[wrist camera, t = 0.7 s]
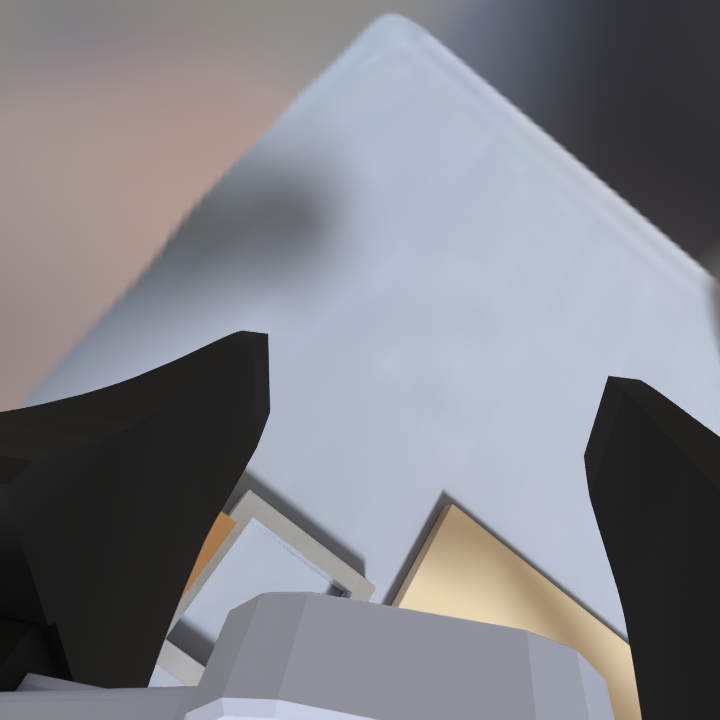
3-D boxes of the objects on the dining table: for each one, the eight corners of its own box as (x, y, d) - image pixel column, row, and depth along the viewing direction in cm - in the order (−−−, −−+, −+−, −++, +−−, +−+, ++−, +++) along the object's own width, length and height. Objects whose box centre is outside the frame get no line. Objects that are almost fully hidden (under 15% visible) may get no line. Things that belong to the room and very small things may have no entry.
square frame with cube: (66, 597, 21) (55, 604, 17) (189, 451, 25) (205, 425, 21) (275, 746, 22) (314, 788, 18) (365, 586, 26) (416, 589, 22)
